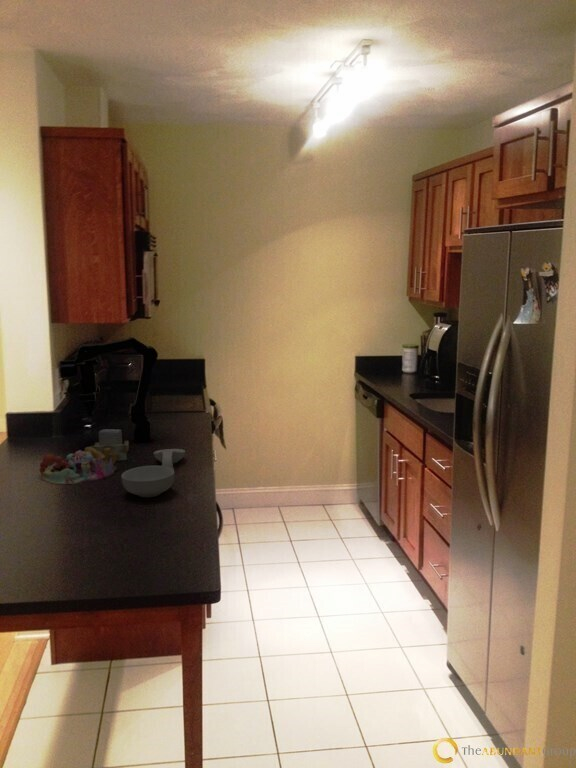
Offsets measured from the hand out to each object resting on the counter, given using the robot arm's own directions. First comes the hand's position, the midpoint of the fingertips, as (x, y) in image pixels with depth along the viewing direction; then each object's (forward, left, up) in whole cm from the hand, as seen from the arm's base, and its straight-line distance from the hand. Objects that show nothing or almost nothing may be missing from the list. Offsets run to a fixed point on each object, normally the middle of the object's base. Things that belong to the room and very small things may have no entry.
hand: (91, 413), depth 281 cm
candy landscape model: (+1, +38, -14) cm, 40 cm away
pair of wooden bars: (-8, +16, -13) cm, 22 cm away
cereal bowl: (-23, +63, -13) cm, 69 cm away
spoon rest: (-30, +35, -13) cm, 48 cm away
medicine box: (-8, +12, -13) cm, 20 cm away
